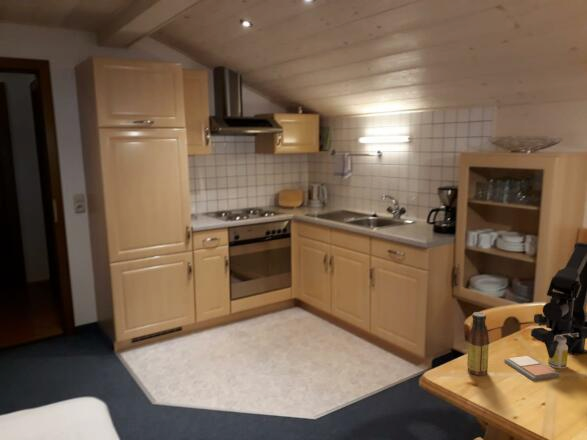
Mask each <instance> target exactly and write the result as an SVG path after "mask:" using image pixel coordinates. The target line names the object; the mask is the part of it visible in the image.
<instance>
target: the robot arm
mask: <svg viewBox="0 0 587 440" xmlns="http://www.w3.org/2000/svg"><path fill="white" fill-rule="evenodd" d="M546 296H548V297H551V298H550V301H548V302H547V303H545V304H544V305H543V307H542V313H536V314H535V313H534V315H533V322H534V323H535V324H537V325H538V327H535V328H533V329H531V332H530V337H532V338H534V339H535V340H538V341H539V342H541V343H544V344H545V347H546V352H547V355H548V358H549V357H550V358H553V356H554V354H555V351H556V348H557V345H558V342H557V341H555V338H556V336H563V337H565V338H566V345H567V346H568V354H567V356H569V354H572V355H579V354H586V353H587V349H585V345H586V340H587V242H584V241H583V242H576V243H575V244H574V248H573V250H572V253H571V255H570V257H569V259H568V261H567V263H566V264H565V266H564V268H562V269H559V270H557V272H556V273H555V275H554V276H552V278H551V280H550V283H549V286H548V289H547V292H546ZM540 326H545V328H544V327H540ZM548 329H550V330H548Z"/></svg>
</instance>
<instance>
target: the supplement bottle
mask: <svg viewBox="0 0 587 440" xmlns="http://www.w3.org/2000/svg"><path fill="white" fill-rule="evenodd" d="M555 341H557V342H558V345H557V348H556V351H555V354H554V356H553V358H550V357H549V356H548V359H547V361H548V362H547V363H548V365H549V366H550V367H552V368H555V369H566V368H567V364H568V355H569V354H568V346H567V345H566V338H565V337H563V336H562V335H560V336H556V338H555ZM567 354H568V355H567Z"/></svg>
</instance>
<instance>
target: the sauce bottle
mask: <svg viewBox="0 0 587 440" xmlns="http://www.w3.org/2000/svg"><path fill="white" fill-rule="evenodd" d="M471 318H472V326H471V328H470V330H469V332H468V337H467V359H466V360H467V364H466V365H467V371H468V372H469V373H470V374H471V375H475V376H479V377H480V376H486V375H487V374H488V368H489V343H490V342H489V332H488V331H487V328H486V319H487V315H486V313H484V312H481V311H479V312H478V311H474V312H473V313H472V317H471Z"/></svg>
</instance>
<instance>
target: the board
mask: <svg viewBox="0 0 587 440" xmlns="http://www.w3.org/2000/svg"><path fill="white" fill-rule="evenodd" d="M503 362H504V363H505V364H506V365H508V366H510V367H512V368H513V369H514V370H516V371H518V372H519V373H520V374H522V375H523V376H525V377H526V378H528V379H529V380H531V381H533V382H535V381H540V380H546V379H551V378H553V379H555V378H558V377H560V373H559V372H557V371H555V370H554V369H553V368H551V367H549V366H547V365H545V364H544V363H542V362H541V361H539V360H537V359H535V358H533V357H532V356H530V355H524V356H517V357H510V358H505V359H504V361H503Z"/></svg>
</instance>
